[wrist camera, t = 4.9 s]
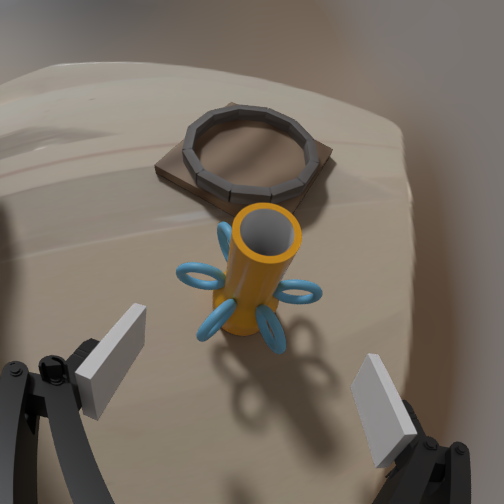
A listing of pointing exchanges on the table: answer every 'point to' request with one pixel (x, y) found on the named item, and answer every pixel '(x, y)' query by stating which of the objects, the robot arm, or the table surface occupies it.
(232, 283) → the cylinder
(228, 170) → the hub board
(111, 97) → the table surface
